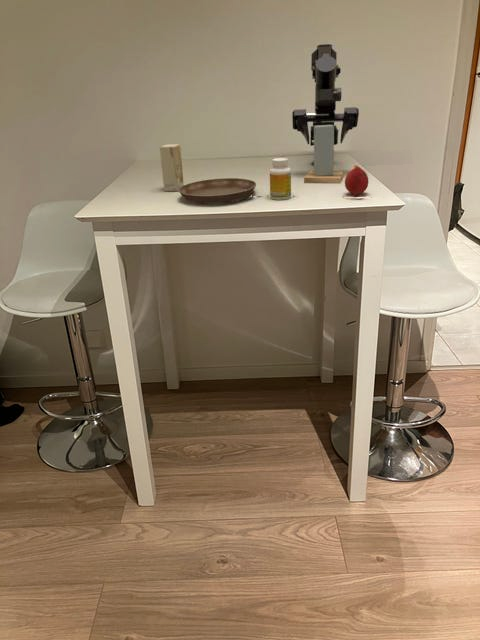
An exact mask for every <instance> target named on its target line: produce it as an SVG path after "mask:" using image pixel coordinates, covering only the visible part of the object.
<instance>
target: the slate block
mask: <svg viewBox="0 0 480 640" xmlns="http://www.w3.org/2000/svg"><path fill="white" fill-rule="evenodd" d="M334 126H335V125H334ZM334 126H333V125H318V126H314V140H313V142H314V145H313V161H314V165H313V171H314V174H315V176H326V175H333V171H334V163H335V161H334V155H335V154H334V152H335V150H334V149H335V145H334Z"/></svg>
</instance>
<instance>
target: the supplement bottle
mask: <svg viewBox="0 0 480 640" xmlns="http://www.w3.org/2000/svg"><path fill="white" fill-rule="evenodd" d="M271 165H272V166H273V167H272V168H270V169H269V189H270V190H269V196H270V199H272V200H276V201H284V200H289V199H290V198H291V197H292V169H291V168H290V167H289V166H288V165H289V159H288V158H285V157H276V158H272V160H271Z"/></svg>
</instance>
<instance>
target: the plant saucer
mask: <svg viewBox="0 0 480 640" xmlns="http://www.w3.org/2000/svg"><path fill="white" fill-rule="evenodd" d="M256 187H257V182H255V181H254V180H251V179H245V178H235V177H234V178H233V177H232V178H231V177H228V178H214V179H213V178H212V179H204V180H197V181H195V182H190V183H187V184H184V186H182V187H180V188H179V191H178V192H179V194H180V195H181V196H182V197H183V199H185V200H187V202H189V203H192V204H197V205H204V206H205V205H207V206H208V205H211V206H212V205H226V204H232V203H237V202H241V201H242V200H245V199H247V198H248V197H249V196H250V195H251V194H252V193H253V191H254V190H255V188H256Z"/></svg>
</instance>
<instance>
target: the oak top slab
mask: <svg viewBox="0 0 480 640" xmlns="http://www.w3.org/2000/svg"><path fill="white" fill-rule="evenodd" d="M344 175H345V172H344V171H343V170H342V171H338V170H337V171H335V170H333V175H326V176H315V174H314V170H309V171H308V173H307V174H306V175H305V176H304V178H303V179H304V180H303V183H304V184H341V182H342V181H343V179H344Z"/></svg>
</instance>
